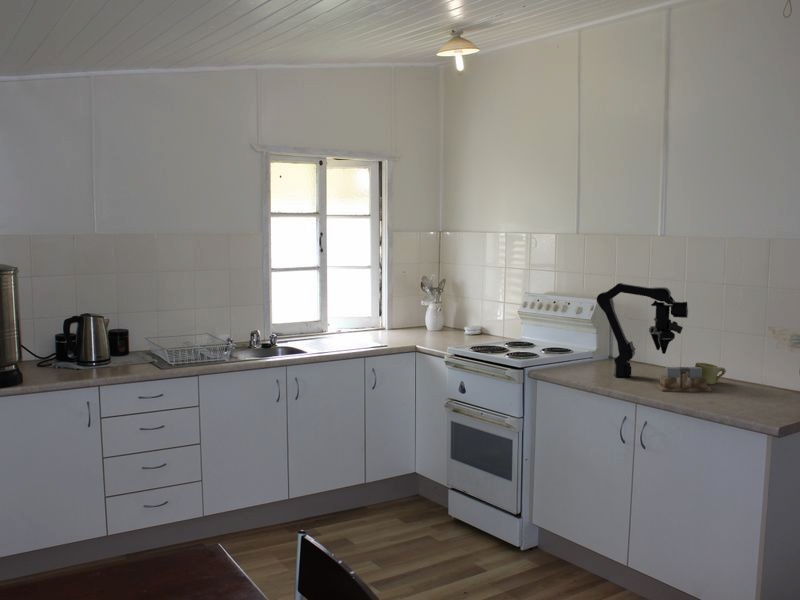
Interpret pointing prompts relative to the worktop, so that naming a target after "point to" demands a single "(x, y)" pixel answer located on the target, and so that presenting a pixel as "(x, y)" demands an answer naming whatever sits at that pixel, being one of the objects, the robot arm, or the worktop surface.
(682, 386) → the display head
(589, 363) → the worktop surface
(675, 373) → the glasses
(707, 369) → the mug
